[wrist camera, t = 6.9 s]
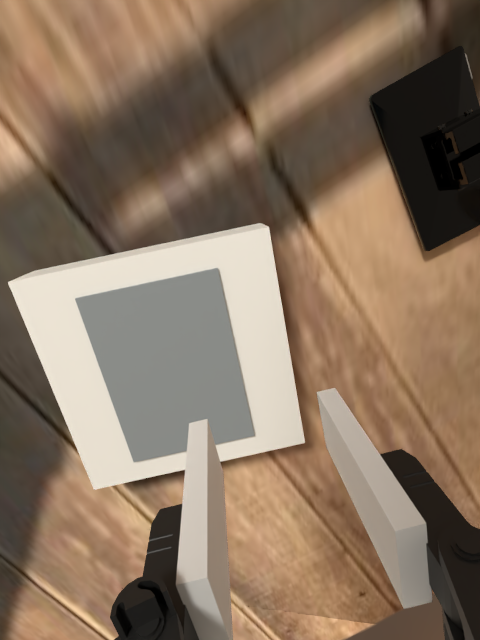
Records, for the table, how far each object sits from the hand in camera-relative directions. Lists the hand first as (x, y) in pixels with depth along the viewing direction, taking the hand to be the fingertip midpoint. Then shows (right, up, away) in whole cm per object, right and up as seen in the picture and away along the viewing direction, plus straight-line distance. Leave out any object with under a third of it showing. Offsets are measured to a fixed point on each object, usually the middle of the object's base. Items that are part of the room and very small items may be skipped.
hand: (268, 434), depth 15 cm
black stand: (+14, +17, +15) cm, 27 cm away
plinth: (-7, +2, +17) cm, 18 cm away
